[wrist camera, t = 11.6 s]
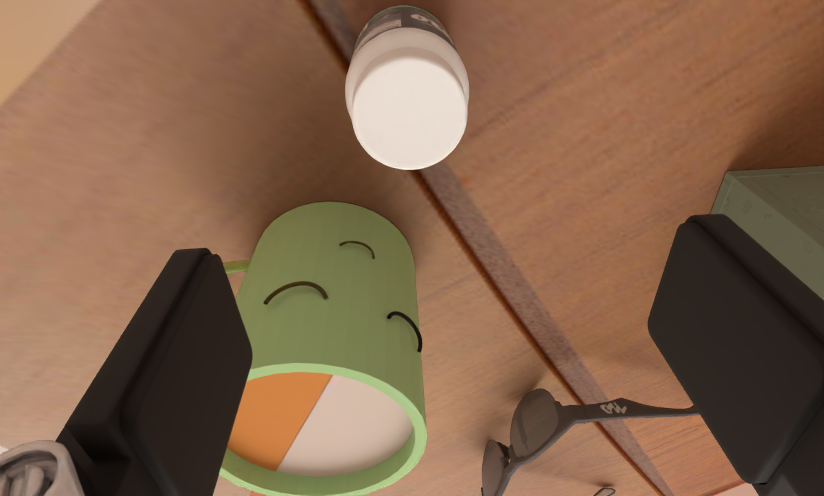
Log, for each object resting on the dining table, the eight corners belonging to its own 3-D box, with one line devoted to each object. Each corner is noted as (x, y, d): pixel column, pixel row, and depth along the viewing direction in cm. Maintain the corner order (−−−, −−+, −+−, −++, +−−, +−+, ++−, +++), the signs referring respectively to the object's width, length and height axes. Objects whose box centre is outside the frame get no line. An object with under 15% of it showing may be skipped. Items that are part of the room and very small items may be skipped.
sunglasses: (540, 357, 36) (567, 415, 32) (702, 380, 41) (742, 432, 37) (454, 471, 44) (467, 528, 41) (597, 478, 50) (620, 528, 46)
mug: (445, 233, 29) (474, 398, 19) (376, 343, 34) (370, 516, 25) (240, 151, 25) (147, 302, 16) (197, 288, 31) (108, 464, 21)
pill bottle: (468, 77, 24) (500, 145, 17) (385, 121, 25) (384, 202, 18) (425, -19, 21) (442, 15, 14) (334, 35, 22) (311, 91, 15)
